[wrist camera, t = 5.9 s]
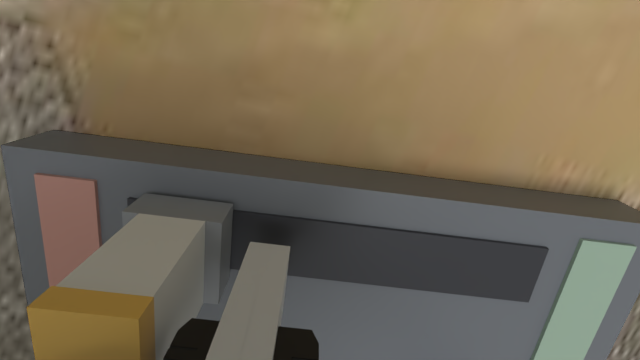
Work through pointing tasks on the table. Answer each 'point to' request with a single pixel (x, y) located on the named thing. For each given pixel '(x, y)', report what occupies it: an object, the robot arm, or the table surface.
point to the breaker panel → (355, 246)
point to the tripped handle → (138, 283)
